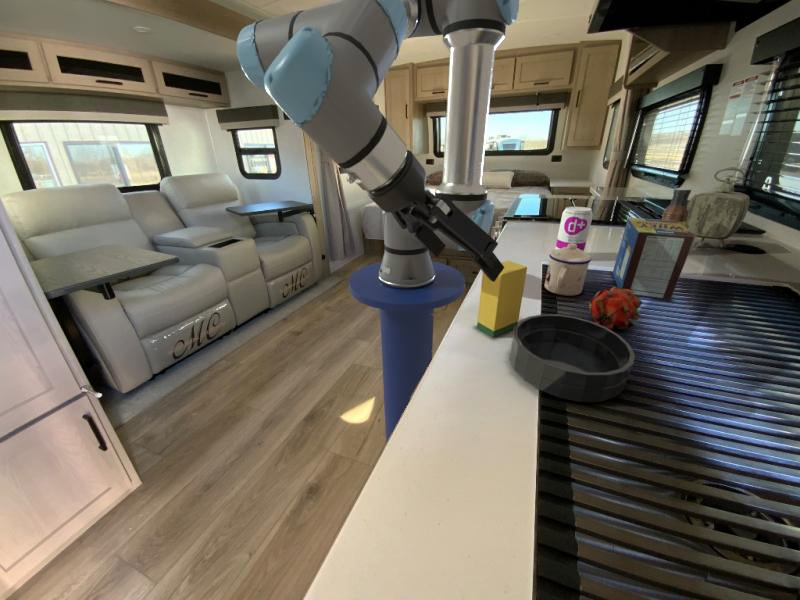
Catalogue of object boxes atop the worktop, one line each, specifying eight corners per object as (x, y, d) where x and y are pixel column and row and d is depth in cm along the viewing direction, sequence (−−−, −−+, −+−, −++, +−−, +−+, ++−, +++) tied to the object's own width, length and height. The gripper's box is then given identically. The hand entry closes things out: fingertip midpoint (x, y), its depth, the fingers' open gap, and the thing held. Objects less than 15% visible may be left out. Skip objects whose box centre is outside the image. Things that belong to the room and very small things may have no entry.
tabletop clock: (731, 248, 111) (766, 168, 100) (725, 254, 106) (762, 170, 94) (678, 239, 121) (705, 166, 110) (671, 244, 116) (698, 167, 104)
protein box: (656, 277, 89) (676, 220, 82) (671, 301, 76) (696, 235, 69) (611, 272, 93) (627, 216, 86) (618, 293, 80) (638, 230, 73)
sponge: (476, 327, 67) (483, 267, 61) (500, 318, 70) (508, 260, 65) (493, 337, 64) (501, 274, 58) (517, 327, 67) (527, 266, 61)
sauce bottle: (678, 252, 107) (702, 189, 99) (671, 256, 104) (695, 191, 95) (654, 248, 112) (675, 186, 103) (647, 251, 109) (668, 188, 100)
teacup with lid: (548, 279, 89) (556, 237, 84) (585, 286, 84) (597, 242, 79) (535, 295, 80) (544, 249, 75) (576, 304, 75) (589, 256, 70)
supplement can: (580, 262, 100) (592, 212, 94) (551, 257, 104) (561, 209, 98) (583, 254, 107) (595, 207, 100) (556, 251, 111) (565, 205, 104)
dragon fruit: (621, 321, 71) (599, 350, 65) (592, 292, 73) (567, 317, 67) (658, 302, 64) (638, 332, 58) (624, 270, 66) (601, 296, 60)
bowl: (528, 330, 66) (532, 305, 63) (629, 361, 56) (639, 333, 54) (493, 375, 54) (497, 346, 51) (615, 424, 44) (627, 392, 42)
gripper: (329, 184, 50) (410, 259, 64) (428, 210, 31) (513, 308, 45) (358, 145, 51) (433, 228, 64) (474, 147, 32) (544, 264, 45)
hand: (466, 261), depth 55 cm, fingers open, 13 cm apart
